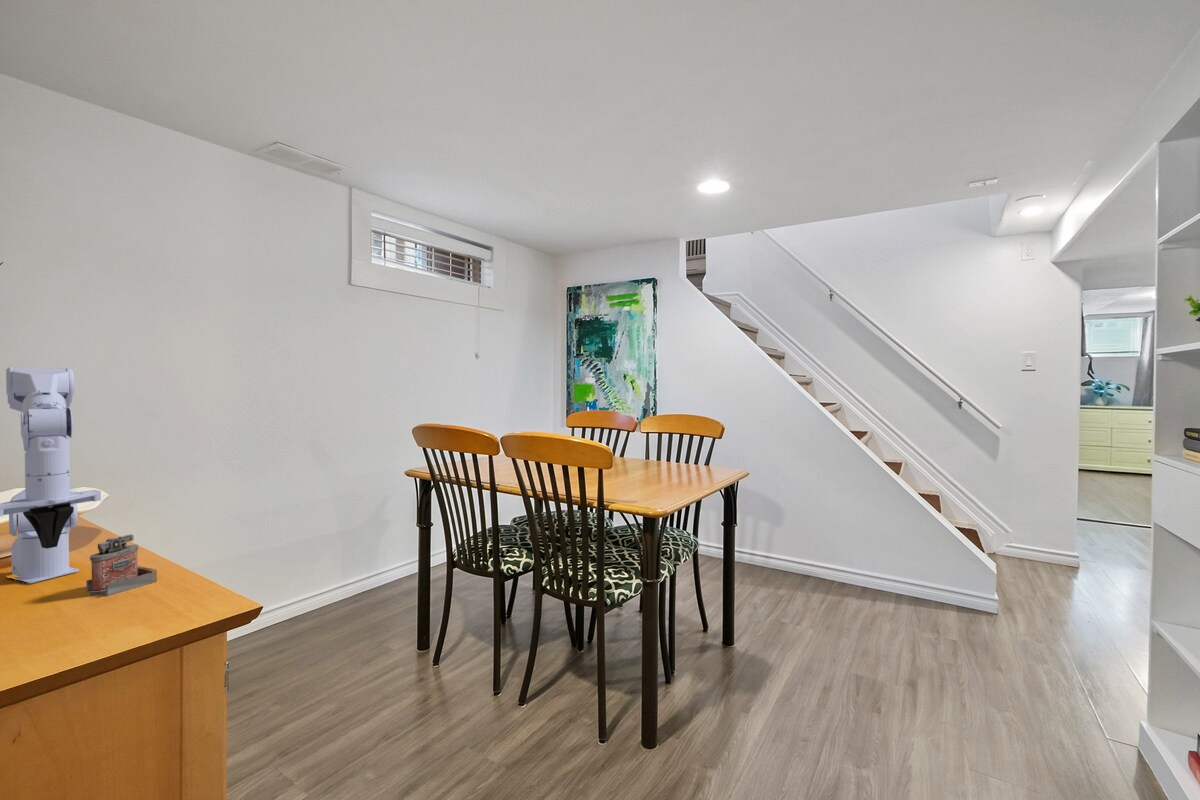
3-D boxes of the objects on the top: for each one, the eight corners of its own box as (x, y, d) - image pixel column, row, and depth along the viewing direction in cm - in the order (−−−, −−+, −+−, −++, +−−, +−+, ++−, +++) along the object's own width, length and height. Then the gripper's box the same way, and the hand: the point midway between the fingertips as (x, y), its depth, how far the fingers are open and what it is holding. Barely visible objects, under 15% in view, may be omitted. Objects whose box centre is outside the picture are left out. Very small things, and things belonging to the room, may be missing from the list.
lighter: (99, 596, 99) (99, 544, 99) (85, 595, 100) (84, 543, 100) (143, 581, 107) (143, 532, 107) (130, 580, 108) (129, 531, 108)
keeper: (86, 590, 102) (86, 578, 102) (135, 576, 110) (135, 565, 110) (107, 595, 100) (107, 583, 99) (156, 581, 107) (156, 569, 107)
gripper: (3, 481, 88) (4, 561, 88) (109, 469, 101) (110, 538, 102) (-18, 478, 90) (-17, 556, 91) (88, 467, 104) (89, 534, 104)
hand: (49, 547), depth 96 cm, fingers closed
